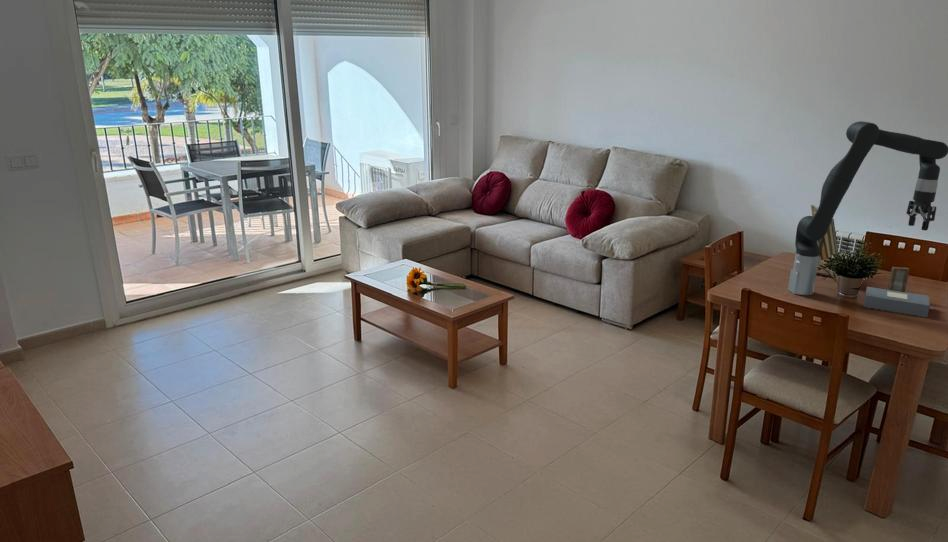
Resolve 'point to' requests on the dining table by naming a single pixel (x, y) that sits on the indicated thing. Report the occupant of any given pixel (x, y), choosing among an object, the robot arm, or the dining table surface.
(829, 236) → the picture frame
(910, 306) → the display step
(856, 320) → the dining table surface
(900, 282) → the walnut frame
